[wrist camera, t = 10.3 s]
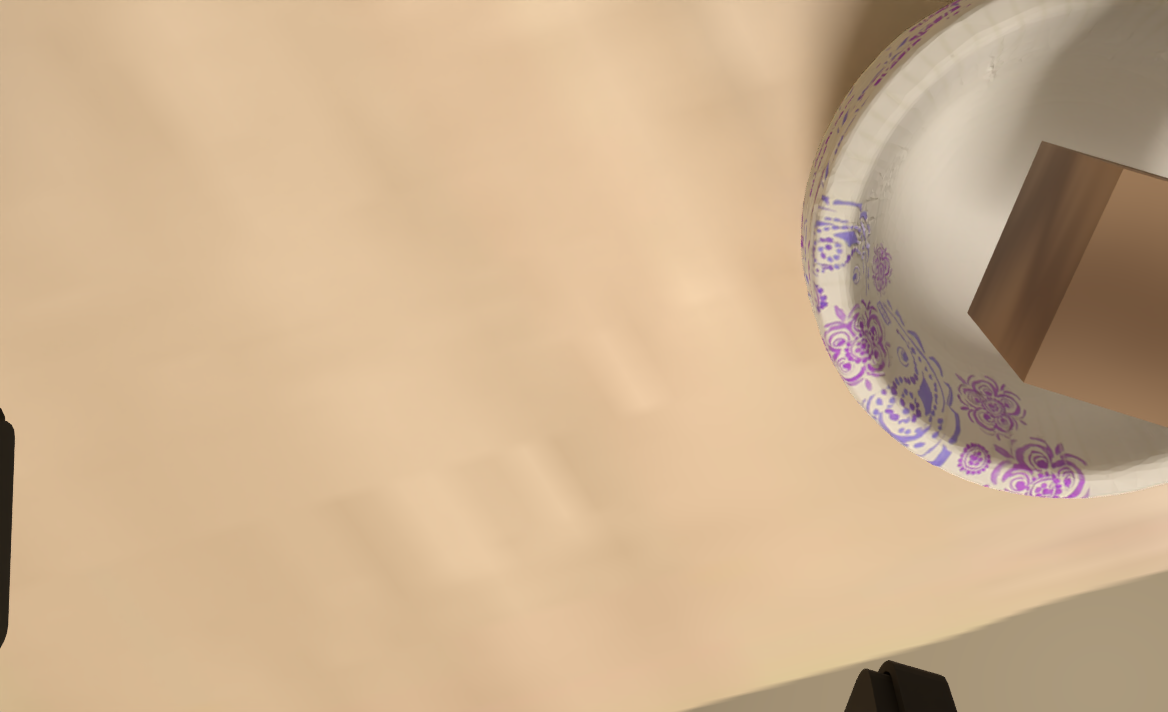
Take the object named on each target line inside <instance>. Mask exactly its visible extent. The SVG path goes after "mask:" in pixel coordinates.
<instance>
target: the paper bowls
mask: <svg viewBox="0 0 1168 712" xmlns="http://www.w3.org/2000/svg"><path fill="white" fill-rule="evenodd" d="M1042 141H1045V142H1048V143H1052V144H1055V145H1058V146H1062V147H1065V148H1068V149H1072V150H1075V151H1078V152H1082V153H1085V154H1089V155H1092V156H1095V157H1099V158H1102V159H1105V160H1109V161H1112V162H1116V163H1119V164H1122V165H1126V166H1129V167H1132V168H1136V169H1139V170H1143V171H1146V172H1149V173H1153V174H1156V175H1159V176H1163V177H1166V178H1168V0H956V1H954V2H952V3H951V4H949V5H947V6H945V7H943V8H941V9H939V10H938V11H936V12H934V13H932V14H931V15H929V16H927V17H926V18H924V19H922V20H921V21H919V22H918V23H916V24H915V25H913V26H911V27H910V28H908V29H907V30H905V31H904V32H903V33H902V34H900V35H899V36H898V37H897V38H896V39H895V40H894V41H893V42H892V43H890V44H889V45H888V46H887V47H886V48H885V49H884V50H883V51H882V52H881V53H880V54H879V55H878V56H877V58H876V59H875V60H874V61H873V62H872V63H871V64H870V66H869V67H868V68H867V69H866V70H865V71H864V72H863V73H862V75H861V76H860V77H859V78H858V80H857V81H856V82H855V83H854V85H853V86H852V88H851V89H850V91H849V92H848V94H847V95H846V96H845V98H844V100H843V101H842V103H841V104H840V106H839V108H838V109H837V111H836V113H835V115H834V117H833V119H832V121H831V123H830V125H829V127H828V128H827V130H826V132H825V135H824V137H823V139H822V141H821V143H820V146H819V148H818V151H817V154H816V157H815V159H814V162H813V166H812V169H811V172H810V176H809V179H808V182H807V187H806V193H805V198H804V202H803V213H802V225H801V251H802V263H803V270H804V276H805V281H806V285H807V289H808V296H809V300H810V302H811V306H812V311H813V313H814V316H815V318H816V321H817V324H818V328H819V332H820V335H821V337H822V340H823V342H824V344H825V347H826V350H827V352H828V354H829V356H830V358H831V360H832V362H833V364H834V366H835V367H836V369H837V371H838V372H839V374H840V376H841V377H842V379H843V381H844V383H845V384H846V386H847V388H848V390H849V391H850V393H851V394H852V395H853V397H854V398H855V399H856V401H857V402H858V403H859V404H860V406H861V407H862V408H863V409H864V410H865V411H866V412H867V414H868V415H869V416H870V417H871V418H873V419H874V420H875V421H876V422H877V424H879V425H880V426H881V427H882V428H883V429H884V430H885V431H886V432H888V433H889V434H890V435H891V436H892V437H893V438H894V439H895V440H897V441H898V442H899V443H900V444H901V445H903V446H904V447H906V448H907V449H908V450H909V451H910V452H912V453H914V454H916V455H917V456H918V457H920V458H922V459H924V460H926V461H927V462H929V463H931V464H932V465H934V466H936V467H939V468H940V469H942V470H944V471H946V472H948V473H950V474H953V475H955V476H957V477H959V478H962V479H964V480H967V481H970V482H973V483H976V484H978V485H981V486H985V487H989V488H991V489H996V490H999V491H1006V492H1009V493H1013V494H1021V495H1028V496H1035V497H1047V498H1065V499H1073V498H1074V499H1080V498H1094V497H1104V496H1112V495H1119V494H1125V493H1130V492H1135V491H1139V490H1143V489H1147V488H1151V487H1154V486H1158V485H1163V484H1166V483H1168V428H1167V427H1164V426H1161V425H1158V424H1154V423H1151V422H1148V421H1145V420H1142V419H1138V418H1135V417H1132V416H1129V415H1126V414H1122V413H1119V412H1116V411H1113V410H1110V409H1106V408H1103V407H1100V406H1097V405H1094V404H1090V403H1087V402H1084V401H1081V400H1078V399H1074V398H1071V397H1068V396H1065V395H1062V394H1058V393H1055V392H1052V391H1049V390H1045V389H1042V388H1039V387H1036V386H1033V385H1029V384H1026V383H1023V381H1022V380H1021V379H1020V378H1019V376H1018V375H1017V374H1016V373H1015V372H1014V370H1013V369H1012V368H1011V367H1010V365H1009V364H1008V363H1007V362H1006V360H1005V359H1004V358H1003V357H1002V355H1001V354H1000V353H999V352H998V350H997V349H996V348H995V347H994V346H993V344H992V343H991V342H990V341H989V339H988V338H987V337H986V336H985V334H984V333H983V332H982V331H981V329H980V328H979V327H978V326H977V324H976V323H975V322H974V321H973V320H972V318H971V317H970V316H969V315H968V313H967V312H968V310H969V307H970V305H971V303H972V300H973V298H974V296H975V294H976V291H977V289H978V287H979V284H980V282H981V280H982V277H983V275H984V273H985V271H986V268H987V266H988V264H989V261H990V259H991V257H992V254H993V252H994V250H995V248H996V245H997V243H998V241H999V238H1000V236H1001V234H1002V231H1003V229H1004V227H1005V225H1006V222H1007V220H1008V218H1009V215H1010V213H1011V211H1012V208H1013V206H1014V204H1015V202H1016V199H1017V197H1018V195H1019V192H1020V190H1021V188H1022V185H1023V183H1024V181H1025V178H1026V176H1027V174H1028V172H1029V169H1030V167H1031V165H1032V162H1033V160H1034V158H1035V155H1036V153H1037V151H1038V149H1039V146H1040V144H1041V142H1042Z"/></svg>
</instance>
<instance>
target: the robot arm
mask: <svg viewBox="0 0 1168 712" xmlns="http://www.w3.org/2000/svg"><path fill="white" fill-rule="evenodd" d="M14 447H15V434H14V429H13V427H12V425H11V424H10V423H9V422H7V421H5V416H4V414H3V412H2V409H1V408H0V648H1V646H2V644H3V642H4V640H5V637H6V634H7V629H8V614H9V586H10V558H11V531H12V503H13V475H14ZM844 712H957V710H956V707H955V704H954V701H953V698H952V695H951V692H950V688H949V685H948V683H947V681H946V679H945V677H943V676H941V675H938V674H935V673H931V672H928V671H924V670H921V669H918V668H914V667H911V666H907V665H904V664H900V663H897V662H893V661H890V660H888V661H886V662H884V663H883V665H882V666H881V667H880V669H879V671H878V672H876V671H873V670H869V669H863V670H862V671H861V673H860V674H859V676H858V678H857V680H856V683H855V686H854V688H853V691H852V693H851V696H850V698H849V701H848V703H847V706H846V709H845V711H844Z"/></svg>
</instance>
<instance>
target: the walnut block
mask: <svg viewBox="0 0 1168 712" xmlns="http://www.w3.org/2000/svg"><path fill="white" fill-rule="evenodd" d="M967 313H968V315H969V316H970V317H971V318H972V320H973V321H974V322H975V323H976V324H977V326H978V327H979V328H980V329H981V331H982V332H983V333H984V334H985V336H986V337H987V338H988V339H989V341H990V342H991V343H992V344H993V346H994V347H995V348H996V349H997V350H998V352H999V353H1000V354H1001V355H1002V357H1003V358H1004V359H1005V360H1006V362H1007V363H1008V364H1009V365H1010V367H1011V368H1012V369H1013V370H1014V372H1015V373H1016V374H1017V375H1018V376H1019V378H1020V379H1021V380H1022V381H1023V383H1026V384H1029V385H1033V386H1036V387H1039V388H1042V389H1045V390H1049V391H1052V392H1055V393H1058V394H1062V395H1065V396H1068V397H1071V398H1074V399H1078V400H1081V401H1084V402H1087V403H1090V404H1094V405H1097V406H1100V407H1103V408H1106V409H1110V410H1113V411H1116V412H1119V413H1122V414H1126V415H1129V416H1132V417H1135V418H1138V419H1142V420H1145V421H1148V422H1151V423H1154V424H1158V425H1161V426H1164V427H1167V428H1168V178H1166V177H1163V176H1159V175H1156V174H1153V173H1149V172H1146V171H1143V170H1139V169H1136V168H1132V167H1129V166H1126V165H1122V164H1119V163H1116V162H1112V161H1109V160H1105V159H1102V158H1099V157H1095V156H1092V155H1089V154H1085V153H1082V152H1078V151H1075V150H1072V149H1068V148H1065V147H1062V146H1058V145H1055V144H1052V143H1048V142H1045V141H1042V142H1041V144H1040V146H1039V149H1038V151H1037V153H1036V155H1035V158H1034V160H1033V162H1032V165H1031V167H1030V169H1029V172H1028V174H1027V176H1026V178H1025V181H1024V183H1023V185H1022V188H1021V190H1020V192H1019V195H1018V197H1017V199H1016V202H1015V204H1014V206H1013V208H1012V211H1011V213H1010V215H1009V218H1008V220H1007V222H1006V225H1005V227H1004V229H1003V231H1002V234H1001V236H1000V238H999V241H998V243H997V245H996V248H995V250H994V252H993V254H992V257H991V259H990V261H989V264H988V266H987V268H986V271H985V273H984V275H983V277H982V280H981V282H980V284H979V287H978V289H977V291H976V294H975V296H974V298H973V300H972V303H971V305H970V307H969V310H968V312H967Z"/></svg>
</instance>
